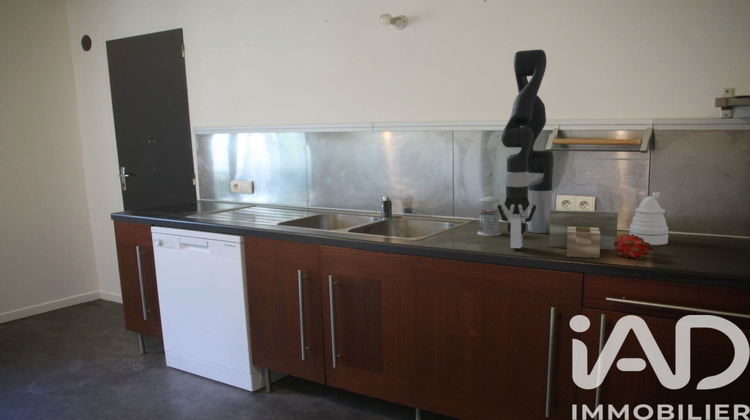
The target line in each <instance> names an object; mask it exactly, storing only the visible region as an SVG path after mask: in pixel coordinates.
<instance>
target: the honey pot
mask: <svg viewBox="0 0 750 420" xmlns="http://www.w3.org/2000/svg"><path fill="white" fill-rule="evenodd" d="M651 194H652V196H650V195H649V196H646V197H645V198H644V199H643V200H642V201H641V202H640V204H639V206H637V208H635V209H634V212H635V214H634V215H633V216H632V221H631V224H630V225H629V228H628V229H629V232H628V234H629V235H632V234H634V235H635V236H637V235H638V236H639V237H641V238H643V240H644V242H647V243H650V244H651V245H652V246H659V245H660V246H661V245H667V244H668V243H669V227H668V225H667V222H666V217H665V215H664V213H665V212H666V209H664V208H661V205H660V203H659V202H658V200H657V199H658V198H660V195H661V192H652V193H651Z"/></svg>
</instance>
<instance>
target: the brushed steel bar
mask: <svg viewBox="0 0 750 420" xmlns="http://www.w3.org/2000/svg"><path fill="white" fill-rule="evenodd" d="M523 235H524V234H522V213H511V233H510V248H511V249H521V248H522V246H523V245H524V244H523V242H524V241H523V240H524V239H523V237H524V236H523Z"/></svg>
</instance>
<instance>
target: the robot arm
mask: <svg viewBox="0 0 750 420" xmlns="http://www.w3.org/2000/svg"><path fill="white" fill-rule="evenodd" d="M513 67H514V68H513V70H514V75H515V80H516V81H515V82H516V84H517V85H516V86H517V91H518V92H517V93H518V94H517V95H516V96H515V99H514V101H513V105H512V109H511V115H510V117H509V120H508V121H507V123H506V125H505V126H504V128H503V130H502V133H501V143H502V145H503V146H504V147H505V148H510V149H511V148H520V151H518V152H517V153H514V154H510V155H508V156H507V158H506V177H505V200H504V202H503V203H500V204H497V208H496V209H497V210H498V212H499V216H500V218H501V220H502V221H503V222H506V223H507V232H509V234H511V213H522V234H523V235H524V234H525V232H526V231H527V232H529V233H533V234H547V233H549V234H550V210H552V208H553V205H552V203H553V173H554V172H553V171H554V153H553V152H552V150H535V149H534V146H535V143H536V141H537V139H538V138H539V136H540V134H541V132H542V131H543V129H544V127H545V126H546V123H547V115H546V114H547V113H546V106H545V104H544V102H543V100H542V99H541V98H540V96H539V95H538V92H539V91H540V88H541V85H542V81H543V79H544V75H545V72H546V69H547V54H546V52H545V51H544V50H543V49H529V50H519V51H516V52H515V53H514V56H513ZM528 77H531V78H530V80H529V79H528ZM529 174H543V176H542V177H541V178H540V179H537V180H534V181H532V182H530V183H529ZM505 208H506V209H507V210H508V216H507V215H506V213H505V211H504V210H505ZM526 210H527V212H528V213H527V217H526V213H525V212H526Z"/></svg>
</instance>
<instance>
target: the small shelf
mask: <svg viewBox="0 0 750 420" xmlns="http://www.w3.org/2000/svg"><path fill="white" fill-rule="evenodd" d="M618 215H619V214H618V211H598V210H597V211H595V210H594V211H591V210H590V211H589V210H588V211H587V210H550V232H549V245H548V246H549V248H563V249H564V248H566V257H571V256H572V257H575V258H591V257H593V258H595V259H599V258H600V257H601V255H600V254H601V250H609V251H610V250H611V251H612V250H613V251H614V250H615V246H614V244H613V243H614V242H615V239H617V238H618Z"/></svg>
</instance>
